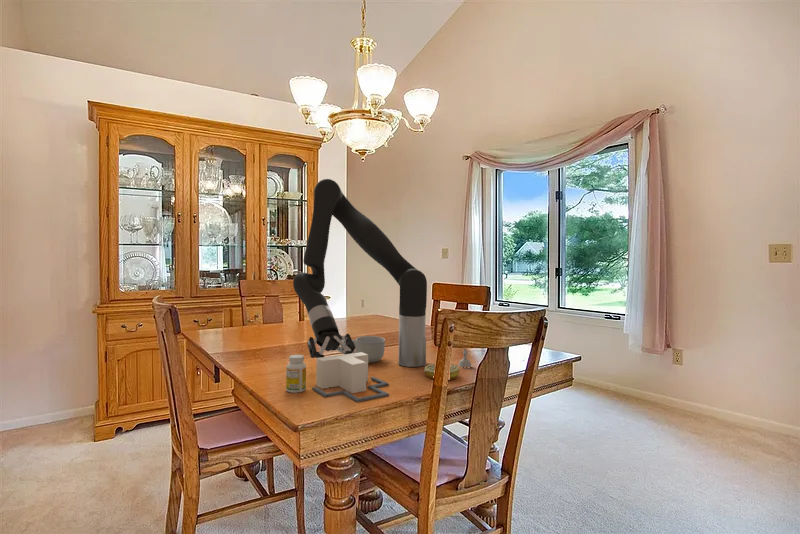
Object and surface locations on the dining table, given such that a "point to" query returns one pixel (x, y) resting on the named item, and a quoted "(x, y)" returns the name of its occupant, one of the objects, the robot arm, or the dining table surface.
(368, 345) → the teacup
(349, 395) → the t outline
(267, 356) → the dining table surface
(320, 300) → the robot arm
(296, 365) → the supplement bottle
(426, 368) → the decorated donut
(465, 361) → the grey tall turned piece
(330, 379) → the t block
